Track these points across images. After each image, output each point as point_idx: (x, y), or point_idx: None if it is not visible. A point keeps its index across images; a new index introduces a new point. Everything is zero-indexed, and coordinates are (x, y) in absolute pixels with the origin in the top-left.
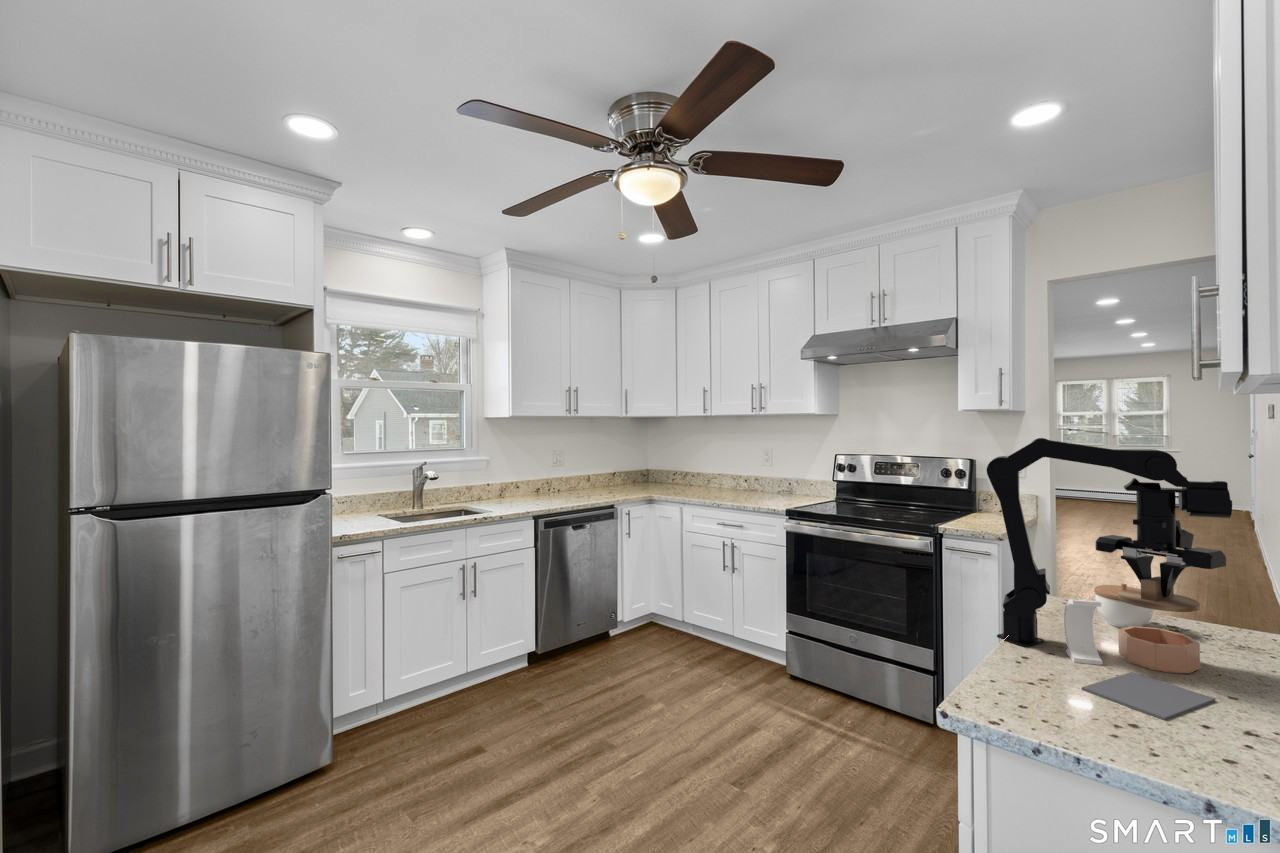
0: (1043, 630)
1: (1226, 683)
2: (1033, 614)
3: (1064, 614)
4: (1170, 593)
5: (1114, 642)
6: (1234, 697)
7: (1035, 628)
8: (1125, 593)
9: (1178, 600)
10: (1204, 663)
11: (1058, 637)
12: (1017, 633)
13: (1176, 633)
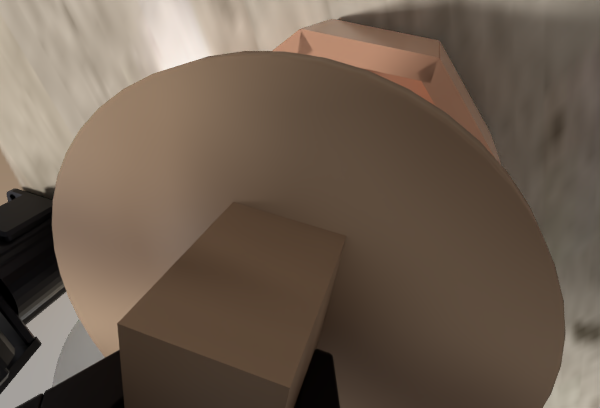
0: (12, 86)
1: (578, 213)
2: (33, 352)
3: (73, 328)
4: (324, 306)
5: (180, 18)
6: (593, 325)
7: (54, 265)
8: (110, 319)
9: (397, 309)
10: (499, 7)
11: (74, 127)
12: (57, 298)
13: (386, 69)
